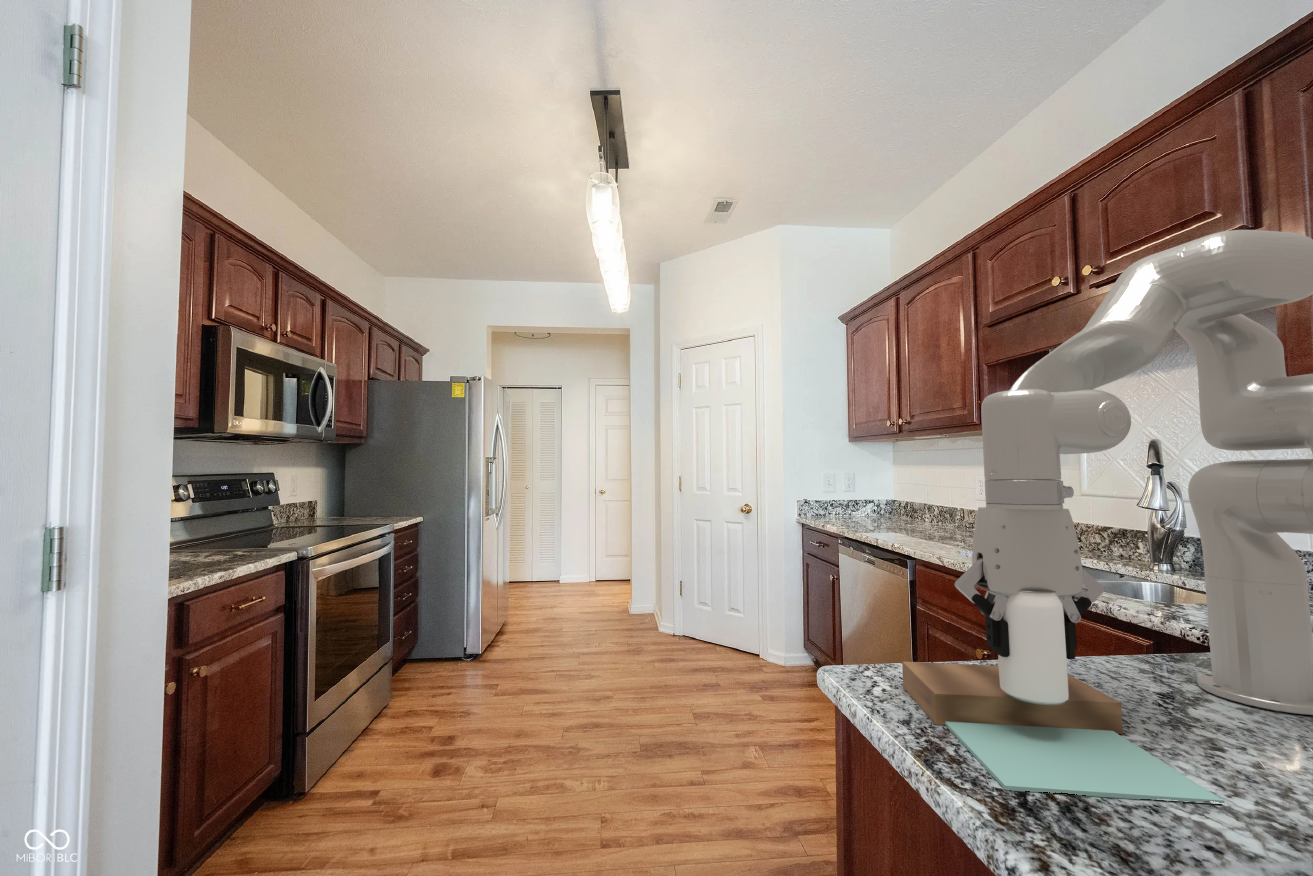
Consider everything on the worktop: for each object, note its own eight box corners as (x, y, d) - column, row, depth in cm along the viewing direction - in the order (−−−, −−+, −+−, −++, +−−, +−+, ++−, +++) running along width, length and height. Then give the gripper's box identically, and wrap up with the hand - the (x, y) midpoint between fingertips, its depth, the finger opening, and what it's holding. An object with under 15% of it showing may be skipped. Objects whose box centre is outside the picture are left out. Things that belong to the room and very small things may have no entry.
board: (1059, 695, 74) (1057, 668, 74) (1123, 735, 62) (1120, 702, 62) (903, 687, 76) (902, 661, 77) (935, 724, 65) (934, 693, 65)
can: (1034, 683, 66) (1028, 581, 67) (1084, 704, 60) (1077, 591, 61) (986, 686, 65) (981, 583, 66) (1032, 708, 59) (1026, 593, 60)
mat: (1113, 734, 62) (1113, 730, 62) (1224, 805, 48) (1224, 800, 48) (945, 725, 64) (944, 721, 64) (1005, 790, 51) (1005, 785, 51)
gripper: (1082, 495, 67) (1091, 648, 66) (932, 495, 69) (938, 642, 68) (1126, 497, 60) (1138, 668, 58) (957, 496, 62) (965, 662, 60)
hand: (1031, 653), depth 63 cm, fingers closed on can, 6 cm apart
